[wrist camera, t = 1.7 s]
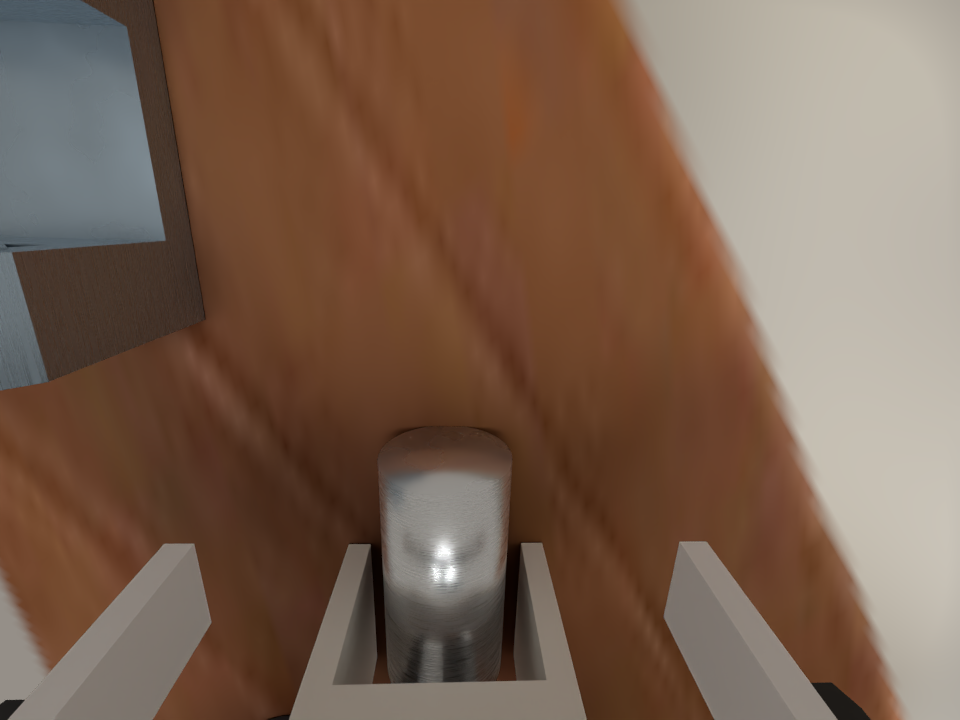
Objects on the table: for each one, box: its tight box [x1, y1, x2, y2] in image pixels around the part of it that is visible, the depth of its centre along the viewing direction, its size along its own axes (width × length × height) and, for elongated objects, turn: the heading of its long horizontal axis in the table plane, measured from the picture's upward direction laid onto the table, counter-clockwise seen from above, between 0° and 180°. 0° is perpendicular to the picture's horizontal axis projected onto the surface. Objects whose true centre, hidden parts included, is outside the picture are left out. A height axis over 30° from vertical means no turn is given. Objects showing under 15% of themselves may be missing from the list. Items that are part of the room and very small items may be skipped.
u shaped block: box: [289, 543, 587, 720], centre depth 18 cm, size 7×9×8 cm
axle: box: [377, 426, 512, 684], centre depth 18 cm, size 10×5×5 cm, turn 178°
